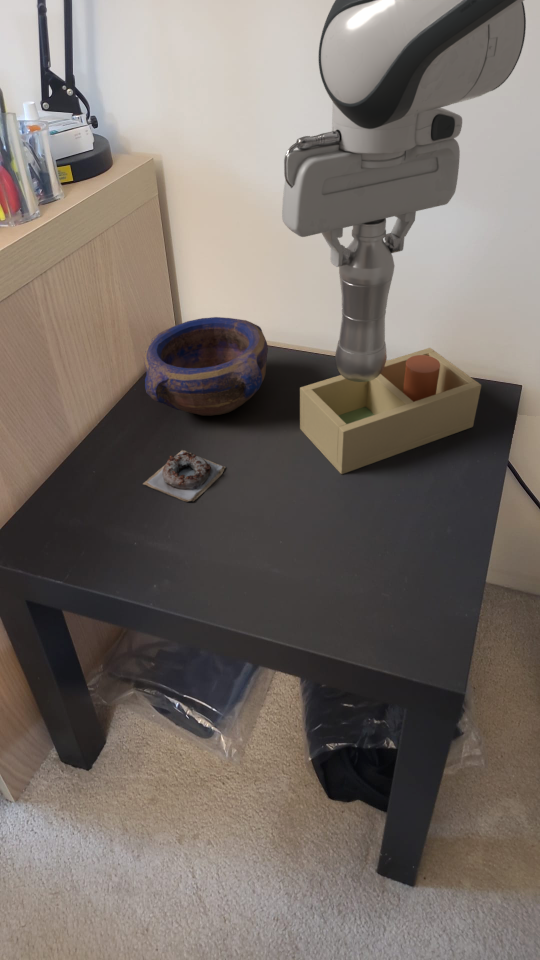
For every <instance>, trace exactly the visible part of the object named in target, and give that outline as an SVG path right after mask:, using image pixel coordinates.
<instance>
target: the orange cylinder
mask: <svg viewBox="0 0 540 960" xmlns="http://www.w3.org/2000/svg"><path fill="white" fill-rule="evenodd" d="M439 371H440V362H439V361H438V360H437V359H435V358H434V357H431V356H427V355H416V356H412V357H410V358H408V359H407V361H406V366H405V374H404V383H403V393H404V394H405V395H406V396H407V397H408V398H410V399H411V400H412V401H413V402H415V401H418V400H421V399H424V398H427V397H430V396H433V395H436V391H437V384H438V378H439Z"/></svg>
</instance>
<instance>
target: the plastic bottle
mask: <svg viewBox="0 0 540 960" xmlns="http://www.w3.org/2000/svg"><path fill="white" fill-rule="evenodd" d="M386 228H387V218H385V219H380V220H376V221H372V222H367V223H363V224H359V225H354V226H352V229H351V237H352V238H353V240H352V241H351V242H350V244H349V245H347V247H346V248H348V249H349V250H350V257H349V259H350V263H349V264H347V265H343V266H340V267H338V275H339V284H340V292H341V293H340V294H341V321H340V329H339V336H338V337H339V338H338V342H337V345H336V348H335V354H334V358H335V359H334V360H335V366H336V369H337V371H338V372H339V375H342V376H343V377H344V378H346V379H348V380H350V381H354V382H367V381H371V380H373V379H375V378H377V377H378V376H379V375H380V374H381V373H382V371H383V370H384V366H385V363H386V361H387V358H388V354H387V344H386V313H387V307H388V301H389V300H388V299H389V294H390V290H391V284H392V281H393V276H394V273H395V267H396V266H395V261H394V256H393V253H391V252H390V250H389V248H388V247H387V245H386V244H385V242H386V241H385V240H384V239H385V236H386V234H387V229H386Z"/></svg>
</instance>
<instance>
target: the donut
mask: <svg viewBox="0 0 540 960" xmlns="http://www.w3.org/2000/svg"><path fill="white" fill-rule="evenodd" d="M225 469H226V466H224V465H222V464H219V463H217V462H213V461H211V460H209V459H206V458H203V457H202V456H199V455H197V454H194V453H193V452H188V451H187V450H183V449H181V450H180V452H178V453H177V454H176V455H169V458H168V459H167V462H166V463H165V464H164V465H163V466H162V467H160V468H159V469H158V470H157V471H155V472H154V473H153V474H152V475H151V476H150V477H148V479H147V480H145V481H144V482H143V483H142V485H144V486H147V487H149V488H151V489H154V490H156V491H158V492H161V493H163V494H166V495H168V496H171V497H173V498H176V499H178V500H180V501H183V502H185V503H186V502H195V501H196V500H197V499H198V498H199V497H201V495H202V494H203V493H205V492H206V491H207V490H208V489H209V488H210V487H211V486H212V485H213V484H214V483H215V482H216V481H217V480H219V478H220V477H221V476H222V475H223V472H224V471H225Z"/></svg>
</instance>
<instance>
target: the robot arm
mask: <svg viewBox="0 0 540 960" xmlns="http://www.w3.org/2000/svg"><path fill="white" fill-rule="evenodd" d="M524 1H525V0H334V2H333V4H332V6H331V8H330V10H329V12H328V15H327V16H326V19H325V22H324V25H323V28H322V31H321V35H320V40H319V46H318V71H319V74H320V78H321V81H322V84H323V87H324V89H325V91H326V93H327V95H328V96H329V98H330V100H331V101H332V108H331V109H332V112H331V131H328V132H322V133H319V134H316V135H312V136H310V135H305V136H302V137H299V138H297V139H296V141H295V143H293V144H292V145H290V147H289V148H288V149H287V150H286V152H285V154H284V156H283V176H284V184H283V195H282V207H281V219H282V222H283V224H284V225H285V226H286V228H287V229H288V230H290V231H291V232H292V233H293V234H295V235H297V236H299V237H300V238H307V237H311V236H315V235H319V234H321V236H323V238H324V240H325V242H326V243H327V245H328V247H329V248H330V258H329V259H330V263H331V264H332V265H333V266H334V267H336V268H339V267H340V266H343V265H347V264H349V263H350V259H349V257H350V250H349V249H348V248H347V247H346V246H345V245H343V244H341V241H340V240H339V239H340V238H343V234H344V229H345V228H349V227H353V226H354V225H359V224H363V223H367V222H372V221H376V220H380V219H385V218H386V219H388V218H393V217H395V218H396V221H395V222H394V225H393V227H392V229H391V231H390V232H389V233H386V236H385V238H384V242H385V244H386V245H387V247H388V248H389V250H390V252H391V254H395V253H400V252H403V251H404V245H405V238H406V237H407V234H408V233H409V231H410V230H411V228H412V226H413V225H414V223H415V221H416V214H417V212H420V211H423V210H428V209H432V208H436V207H441V206H447V205H448V204H449V202H451V200H452V198H453V197H454V195H455V193H456V190H457V185H458V178H459V168H460V159H461V157H460V156H461V153H460V152H461V150H460V145H459V142H458V141H457V139H456V138H457V137H459V135H460V134H461V131H462V128H463V117H462V116H461V114H459V113H455V112H453V111H451V110H449V109H446V108H444V107H448V106H450V105H454V104H459V103H462V102H466V101H470V100H473V99H476V98H479V97H482V96H483V95H485V94H487V93H490V92H493V91H495V90H497V89H498V88H499V87H501V86H502V85H503V84H504V83H505V82H506V81H507V80H508V79H509V77H510V76H511V75H512V74H513V71H514V70H515V68H516V66H517V64H518V62H519V59H520V58H521V55H522V51H523V48H524V43H525V40H526V39H525V38H526V29H527V26H526V25H527V19H526V10H525V4H524Z"/></svg>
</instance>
